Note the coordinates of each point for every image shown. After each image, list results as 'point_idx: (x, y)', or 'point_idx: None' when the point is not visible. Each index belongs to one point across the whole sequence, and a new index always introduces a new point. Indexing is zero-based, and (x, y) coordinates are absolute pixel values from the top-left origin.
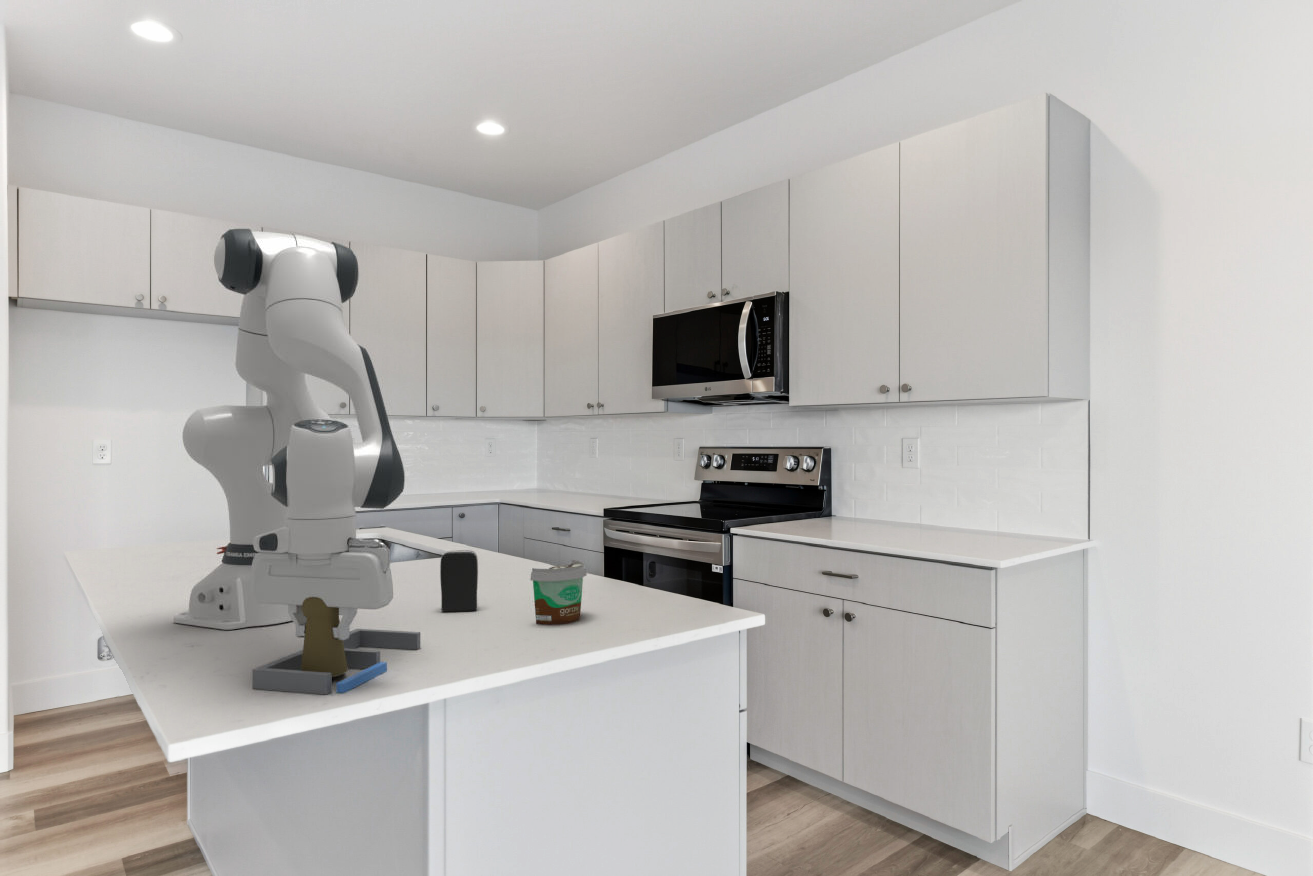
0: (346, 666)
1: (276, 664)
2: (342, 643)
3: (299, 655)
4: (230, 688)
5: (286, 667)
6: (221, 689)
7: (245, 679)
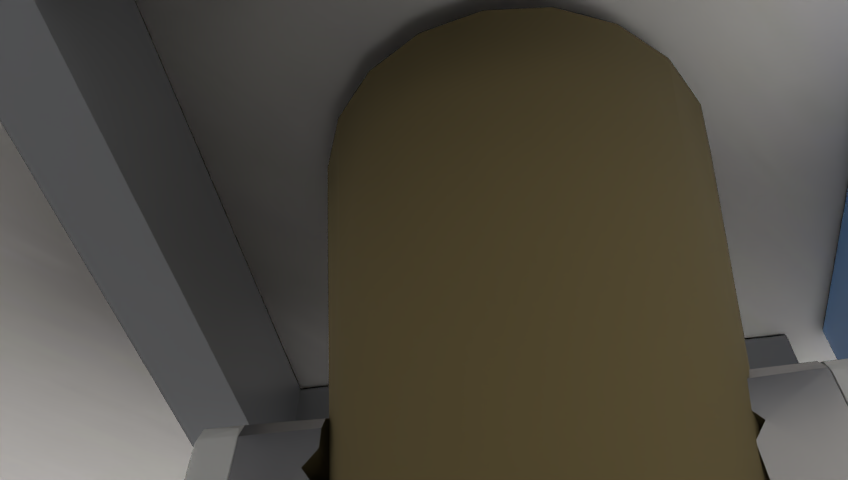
0: (694, 112)
1: (251, 421)
2: (732, 294)
3: (148, 214)
4: (139, 447)
5: (225, 304)
6: (116, 466)
7: (22, 340)
